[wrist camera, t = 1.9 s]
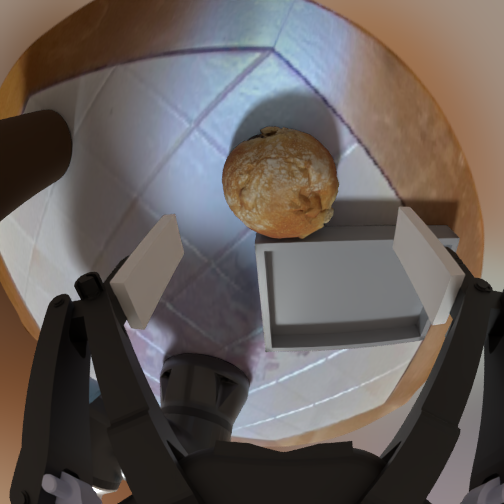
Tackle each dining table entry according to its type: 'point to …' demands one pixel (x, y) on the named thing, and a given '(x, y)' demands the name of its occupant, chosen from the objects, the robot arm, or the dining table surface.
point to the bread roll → (281, 183)
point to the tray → (339, 289)
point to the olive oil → (31, 156)
